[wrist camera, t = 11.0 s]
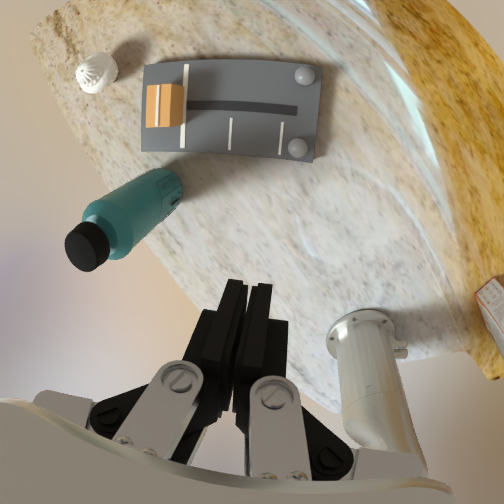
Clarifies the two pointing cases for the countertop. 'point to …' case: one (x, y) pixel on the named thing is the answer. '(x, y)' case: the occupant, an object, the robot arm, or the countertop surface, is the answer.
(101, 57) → the muffin
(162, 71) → the console board
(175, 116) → the fader tab
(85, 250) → the beverage bottle
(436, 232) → the countertop surface
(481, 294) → the cracker box
